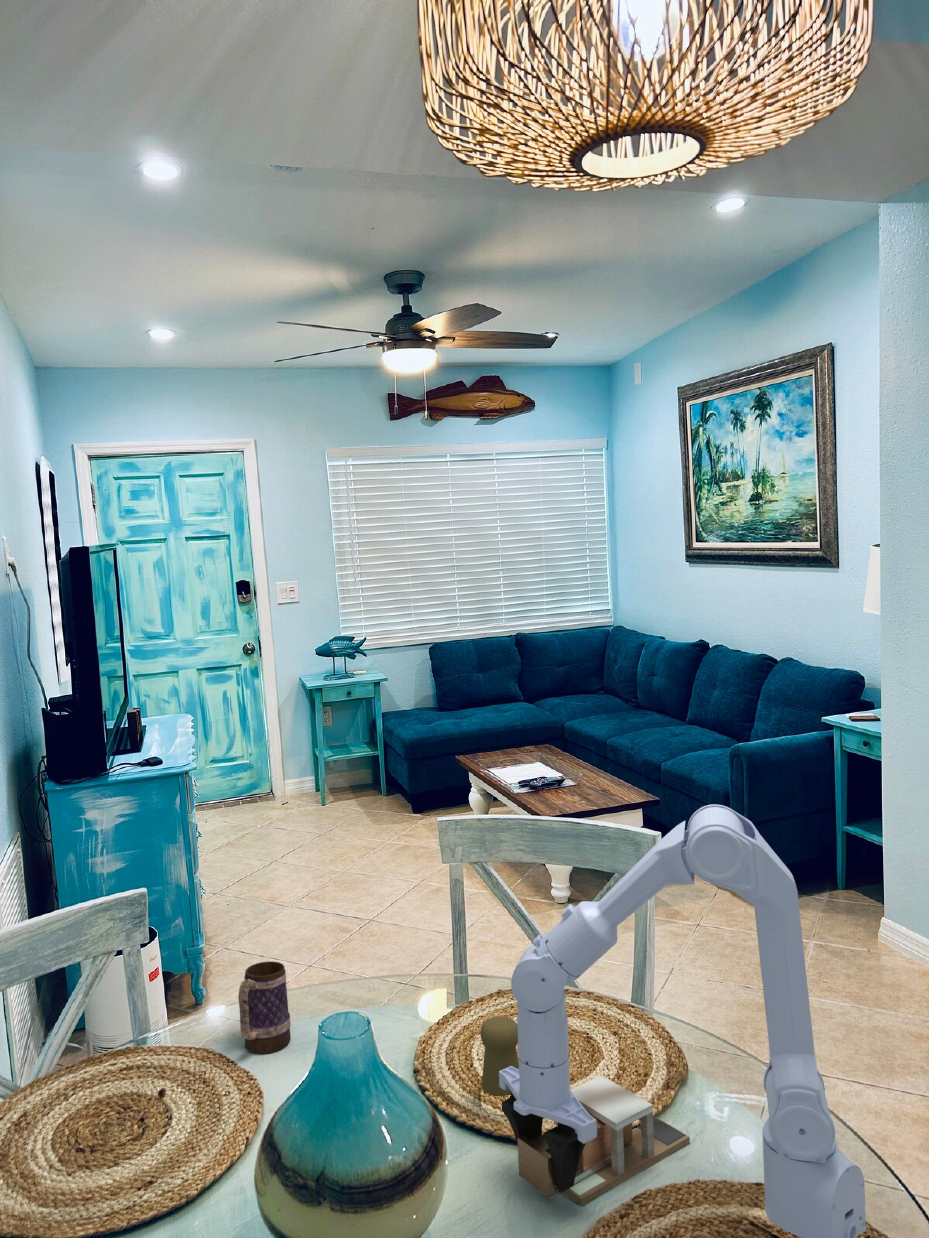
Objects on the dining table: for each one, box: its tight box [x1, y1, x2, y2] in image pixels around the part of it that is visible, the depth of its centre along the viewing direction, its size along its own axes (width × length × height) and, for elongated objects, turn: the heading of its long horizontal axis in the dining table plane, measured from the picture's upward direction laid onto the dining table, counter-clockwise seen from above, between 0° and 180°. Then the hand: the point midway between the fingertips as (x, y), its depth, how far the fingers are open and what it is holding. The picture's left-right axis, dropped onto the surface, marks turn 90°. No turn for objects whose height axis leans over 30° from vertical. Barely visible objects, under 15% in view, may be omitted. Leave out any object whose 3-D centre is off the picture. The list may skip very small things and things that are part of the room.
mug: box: [237, 960, 292, 1055], centre depth 135 cm, size 10×7×12 cm
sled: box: [517, 1113, 633, 1200], centre depth 104 cm, size 5×15×5 cm, turn 126°
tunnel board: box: [554, 1075, 691, 1207], centre depth 106 cm, size 9×18×7 cm, turn 126°
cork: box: [479, 1015, 519, 1097], centre depth 118 cm, size 6×6×11 cm
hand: (547, 1174), depth 101 cm, fingers closed on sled, 5 cm apart
